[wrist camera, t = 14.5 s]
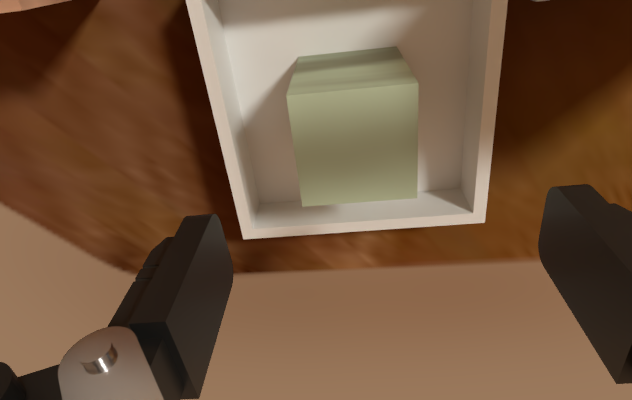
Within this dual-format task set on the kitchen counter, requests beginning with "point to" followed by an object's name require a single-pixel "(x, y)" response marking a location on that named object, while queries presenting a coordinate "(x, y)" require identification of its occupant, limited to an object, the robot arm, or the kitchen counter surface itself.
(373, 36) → the tray
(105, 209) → the kitchen counter surface
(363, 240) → the kitchen counter surface
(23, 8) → the terracotta block
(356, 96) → the sage block
